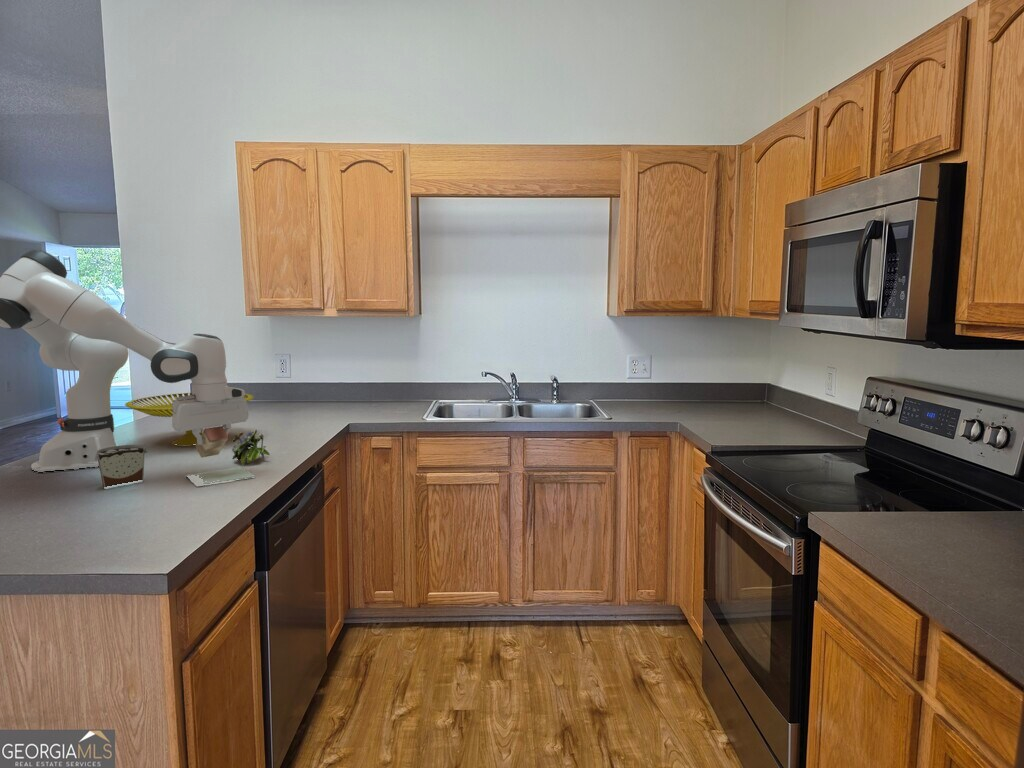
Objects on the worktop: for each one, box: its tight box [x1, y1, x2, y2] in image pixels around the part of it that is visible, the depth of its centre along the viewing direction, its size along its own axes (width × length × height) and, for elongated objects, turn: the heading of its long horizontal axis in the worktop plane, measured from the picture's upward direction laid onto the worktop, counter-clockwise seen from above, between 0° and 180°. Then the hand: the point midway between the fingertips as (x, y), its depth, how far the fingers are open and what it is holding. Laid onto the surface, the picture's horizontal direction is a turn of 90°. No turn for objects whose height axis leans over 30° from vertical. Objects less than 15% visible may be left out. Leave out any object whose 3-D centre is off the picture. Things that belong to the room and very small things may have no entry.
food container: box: [95, 444, 148, 488], centre depth 173 cm, size 12×6×10 cm, turn 141°
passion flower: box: [231, 429, 270, 466], centre depth 199 cm, size 11×11×12 cm
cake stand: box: [124, 392, 255, 445], centre depth 225 cm, size 40×40×15 cm
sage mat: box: [185, 466, 256, 484], centre depth 180 cm, size 15×13×1 cm
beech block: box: [194, 425, 229, 459], centre depth 179 cm, size 5×4×8 cm
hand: (212, 442), depth 179 cm, fingers closed on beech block, 5 cm apart
